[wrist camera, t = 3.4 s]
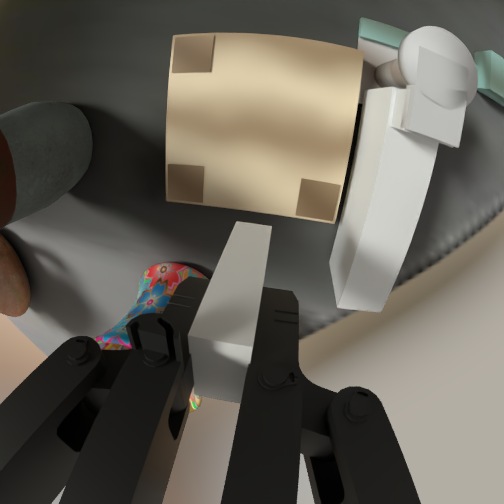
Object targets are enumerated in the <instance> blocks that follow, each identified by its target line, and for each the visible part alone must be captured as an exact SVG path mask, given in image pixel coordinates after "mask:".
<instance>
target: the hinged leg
mask: <svg viewBox="0 0 504 504" xmlns="http://www.w3.org/2000/svg"><path fill="white" fill-rule="evenodd" d="M398 66H399V70H400V73H401V76H402V78H403V80H404V82H405V83H406V85H407V86H406V89H399V88H396V87H384V88H376V89H369V90H365V91H364V99H363V106H362V112H361V119H360V125H359V131H358V137H357V142H356V148H355V153H354V158H353V164H352V169H351V174H350V178H349V183H348V188H347V192H346V197H345V201H344V206H343V210H342V214H341V218H340V222H339V226H338V230H337V234H336V238H335V242H334V246H333V250H332V253H331V257H330V261H329V265H330V270H331V275H332V281H333V286H334V292H335V297H336V303H337V308H343V309H352V310H361V311H371V312H381V311H382V309H383V307H384V305H385V303H386V301H387V298H388V296H389V294H390V292H391V290H392V288H393V285H394V283H395V281H396V278H397V276H398V273H399V271H400V269H401V266H402V264H403V261H404V259H405V256H406V253H407V251H408V248H409V245H410V243H411V240H412V237H413V234H414V231H415V228H416V226H417V223H418V220H419V216H420V213H421V210H422V207H423V204H424V200H425V197H426V193H427V190H428V186H429V183H430V179H431V175H432V171H433V167H434V163H435V159H436V154H437V150H438V145H439V143H441V144H444V145H447V146H449V147H452V148H453V146H454V147H457V148H459V144H460V139H461V133H462V128H463V122H464V116H465V109H466V106H467V105H469V104H470V103H471V101H472V100H473V98H474V97H475V94H476V91H477V87H478V74H477V69H476V65H475V63H474V60H473V58H472V56H471V54H470V52H469V51H468V49H467V48H466V46H465V45H464V44H463V43H462V42H461V41H460V40H459V39H458V38H457V37H456V36H455V35H453V34H452V33H450V32H449V31H447V30H445V29H442V28H439V27H435V26H425V27H422V28H419V29H417V30H415V31H413V32H411V33H409V34H407V35H406V36H405V37H404V38H403V40H402V41H401V43H400V45H399V49H398Z"/></svg>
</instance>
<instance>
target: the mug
mask: <svg viewBox="0 0 504 504" xmlns="http://www.w3.org/2000/svg"><path fill="white" fill-rule="evenodd" d="M189 276H192V277H197V278H203V279H208V278H207V277H206V276H204V275H203V274H202V273H200V272H199V271H197V270H195V269H193V268H191V267H189V266H186V265H183V264H178V263H160V264H157V265H154V266H152V267H150V268H149V269H148V270H146V271H145V272H144V274H143V275H142V277H141V279H140V282H139V293H138V297H137V299H136V302H135V304H134V305H133V307H132V309H131V310H130V311H129V313H128V314H127V315H126V316H125V317H124V318H123V319H122V320H121V321H120V322H119V323H118V324H117V325H116V326H114V327H113V328H112V329H110V330H109V331H107V332H105V333H104V334H102V335H100V336H98V337H96V338H94V340H95V341H96V342H97V343H98V344H99V345H100V348H101V350H127V349H132V347H131V344H130V341H129V337H128V334H127V330H126V327H125V325H126V324H127V323H128V322H129V321H130V320H131V319H133V318H135V317H137V316H139V315H141V314H146V313H161V314H162V313H163V311H164V309H165V308H166V306H167V304H168V303H169V300H170V299H171V297H172V296H173V293H174V291H175V290H176V288H177V286H178V284H179V283H181V282H182V281H183V280H185V279H186V278H187V277H189ZM189 401H190V411H189V413H190V412H193V411H195V410H196V409H197V408H198V407H199V406H200V404H201V402H202V396H199V395H195V394H194V389H192V393H191V396H190V399H189Z"/></svg>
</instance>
